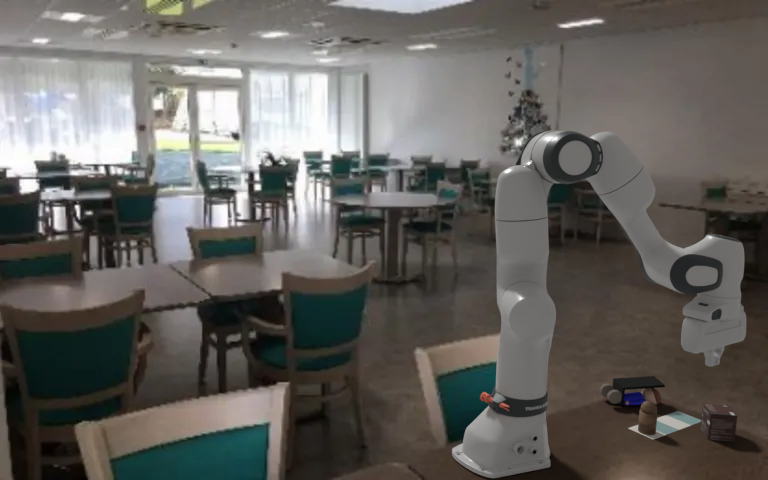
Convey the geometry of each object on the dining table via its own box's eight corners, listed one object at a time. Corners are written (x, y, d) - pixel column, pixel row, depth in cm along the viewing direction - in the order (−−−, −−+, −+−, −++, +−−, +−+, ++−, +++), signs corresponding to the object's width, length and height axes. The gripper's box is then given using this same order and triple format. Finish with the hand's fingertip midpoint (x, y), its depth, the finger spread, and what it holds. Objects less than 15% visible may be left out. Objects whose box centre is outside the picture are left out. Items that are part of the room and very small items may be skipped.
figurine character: (610, 417, 172) (666, 409, 173) (609, 389, 171) (665, 381, 172) (599, 406, 179) (653, 399, 180) (598, 379, 177) (652, 372, 179)
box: (699, 431, 161) (702, 402, 160) (725, 433, 160) (728, 404, 159) (707, 442, 155) (710, 413, 154) (734, 445, 154) (738, 415, 153)
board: (652, 442, 155) (653, 439, 154) (627, 431, 160) (627, 428, 160) (702, 423, 165) (703, 420, 165) (677, 413, 171) (677, 410, 171)
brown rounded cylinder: (648, 436, 156) (651, 405, 155) (634, 430, 159) (636, 400, 158) (659, 432, 158) (662, 402, 157) (644, 426, 161) (647, 396, 160)
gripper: (730, 297, 158) (724, 353, 160) (678, 308, 147) (672, 368, 149) (756, 303, 152) (750, 361, 154) (705, 315, 141) (699, 377, 143)
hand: (712, 365), depth 151 cm, fingers closed
